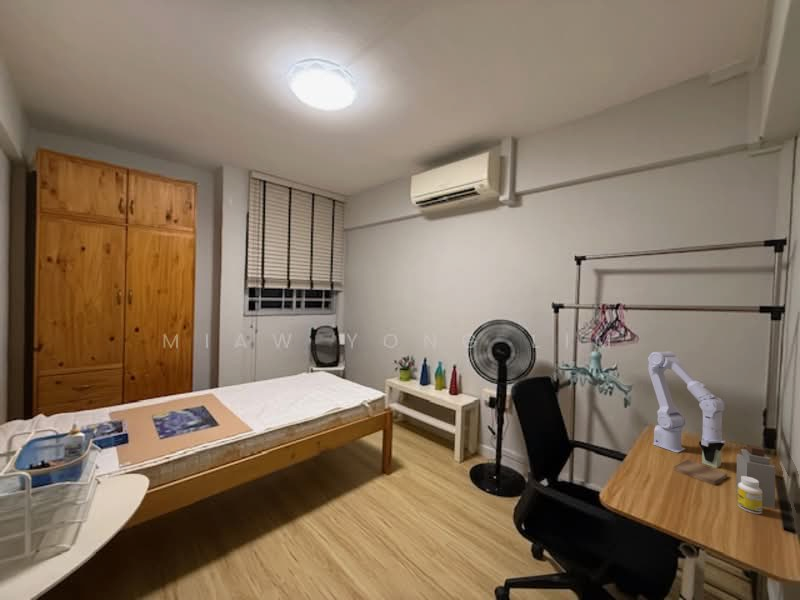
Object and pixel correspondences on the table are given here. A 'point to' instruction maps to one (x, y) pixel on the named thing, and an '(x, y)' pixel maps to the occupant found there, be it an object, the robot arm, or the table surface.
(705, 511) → the table surface
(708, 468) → the walnut base
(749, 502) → the supplement bottle
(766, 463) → the grey tall open box
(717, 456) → the sage block
